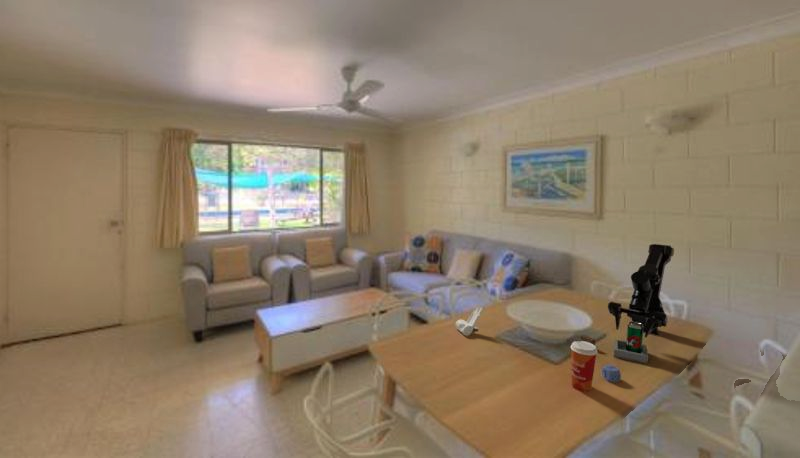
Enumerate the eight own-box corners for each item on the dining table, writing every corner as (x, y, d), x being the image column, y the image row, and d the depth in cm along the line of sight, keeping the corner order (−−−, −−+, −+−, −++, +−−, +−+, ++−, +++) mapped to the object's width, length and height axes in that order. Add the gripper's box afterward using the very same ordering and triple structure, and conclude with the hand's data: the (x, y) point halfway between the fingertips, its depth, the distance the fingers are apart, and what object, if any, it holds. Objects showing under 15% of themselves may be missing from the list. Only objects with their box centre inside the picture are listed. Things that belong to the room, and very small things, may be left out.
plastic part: (455, 329, 159) (455, 304, 158) (475, 326, 162) (475, 301, 160) (463, 336, 152) (463, 310, 150) (483, 333, 155) (484, 307, 153)
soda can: (644, 356, 132) (647, 326, 131) (632, 357, 132) (634, 326, 130) (634, 350, 137) (636, 320, 136) (622, 351, 137) (624, 321, 135)
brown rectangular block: (583, 343, 144) (584, 334, 144) (594, 349, 140) (595, 339, 139) (580, 344, 143) (580, 335, 143) (591, 350, 139) (591, 340, 138)
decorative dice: (601, 376, 121) (602, 365, 120) (612, 375, 121) (613, 364, 120) (608, 382, 117) (609, 371, 116) (620, 382, 117) (621, 370, 116)
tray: (614, 345, 142) (614, 338, 142) (645, 352, 137) (646, 344, 137) (613, 356, 134) (614, 349, 133) (647, 364, 128) (648, 356, 128)
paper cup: (563, 380, 118) (565, 340, 116) (585, 379, 119) (588, 339, 117) (576, 394, 110) (579, 351, 108) (600, 393, 111) (603, 350, 109)
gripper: (672, 314, 137) (663, 350, 131) (617, 302, 150) (607, 335, 144) (670, 299, 131) (660, 337, 125) (613, 288, 144) (602, 322, 138)
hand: (630, 333), depth 133 cm, fingers open, 9 cm apart
